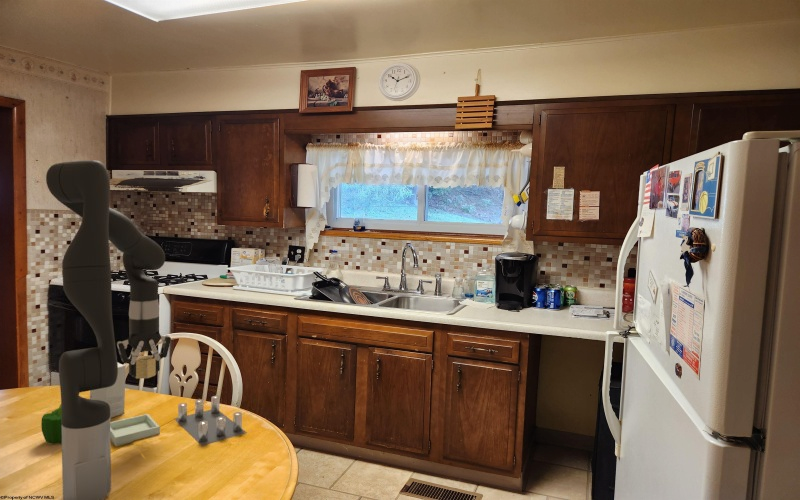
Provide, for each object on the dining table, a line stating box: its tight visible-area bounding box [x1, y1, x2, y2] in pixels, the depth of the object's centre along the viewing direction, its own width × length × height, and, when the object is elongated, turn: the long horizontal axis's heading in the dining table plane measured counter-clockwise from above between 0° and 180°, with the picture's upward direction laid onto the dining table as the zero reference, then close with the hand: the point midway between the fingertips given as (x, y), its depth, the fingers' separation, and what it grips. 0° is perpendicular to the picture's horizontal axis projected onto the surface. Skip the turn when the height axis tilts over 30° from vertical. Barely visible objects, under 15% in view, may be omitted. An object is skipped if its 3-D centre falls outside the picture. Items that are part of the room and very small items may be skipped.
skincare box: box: [89, 361, 126, 419], centre depth 155 cm, size 8×7×16 cm
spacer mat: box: [174, 409, 247, 447], centre depth 149 cm, size 22×13×1 cm, turn 43°
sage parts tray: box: [110, 413, 161, 447], centre depth 143 cm, size 11×11×2 cm
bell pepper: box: [40, 404, 62, 445], centre depth 137 cm, size 8×8×10 cm
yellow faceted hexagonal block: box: [134, 355, 157, 379], centre depth 142 cm, size 6×5×5 cm
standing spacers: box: [177, 395, 243, 442], centre depth 148 cm, size 18×12×5 cm
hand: (144, 374), depth 142 cm, fingers closed on yellow faceted hexagonal block, 5 cm apart
